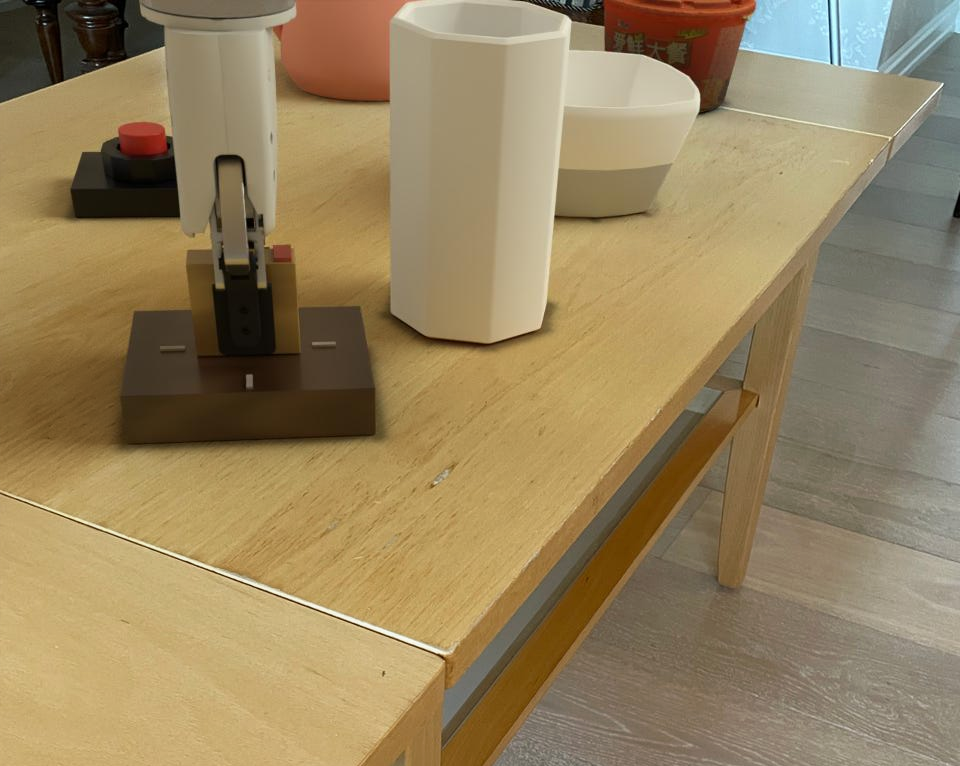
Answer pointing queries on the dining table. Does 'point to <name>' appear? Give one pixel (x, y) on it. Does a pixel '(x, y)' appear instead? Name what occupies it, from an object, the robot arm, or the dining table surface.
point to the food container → (682, 37)
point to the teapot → (340, 47)
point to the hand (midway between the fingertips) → (247, 329)
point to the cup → (474, 164)
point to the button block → (125, 183)
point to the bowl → (620, 132)
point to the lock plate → (247, 382)
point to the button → (142, 138)
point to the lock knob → (283, 294)
